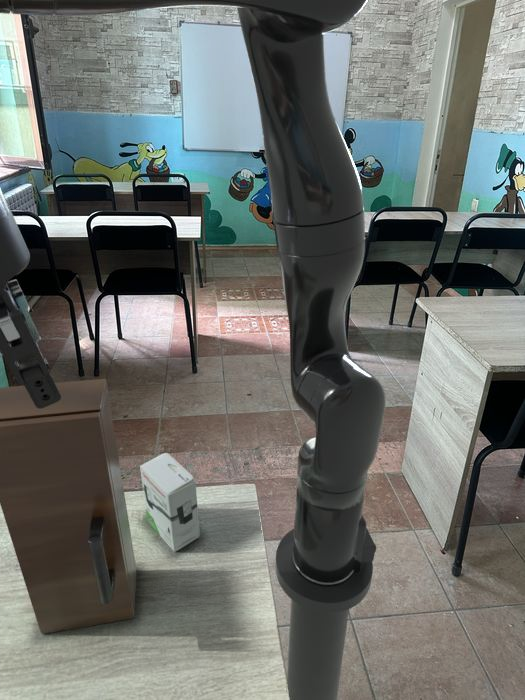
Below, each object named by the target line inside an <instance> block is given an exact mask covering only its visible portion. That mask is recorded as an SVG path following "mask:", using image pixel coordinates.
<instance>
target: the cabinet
mask: <svg viewBox="0 0 525 700" xmlns="http://www.w3.org/2000/svg"><path fill="white" fill-rule="evenodd" d="M54 383H55V385H56V387H57V389H58V391H59V393H60V395H61V399H60V400H59V401H58V402H56V403H54V404H51V405H49V406H47V407H45V408H42V409H39V408H37V407H36V406H35V404H34V402H33V401H32V399H31V397H30V395H29V393H28V391H27V390H26V388H25V386H24V385H21V386H20V385H17V386H16V385H15V386H4V387H2V386H1V387H0V422H2V421H12V420H22V419H33V418H43V417H53V416H64V415H74V414H84V413H94V412H100V415H101V421H102V427H103V433H104V439H105V444H106V450H107V456H108V462H109V468H110V473H111V479H112V485H113V491H114V497H115V503H116V508H117V514H118V520H119V526H120V532H121V537H122V543H123V549H124V555H125V561H126V566H127V572H128V578H129V584H130V590H131V595H132V601H133V607H134V611H135V609H136V608H135V607H136V589H137V587H136V586H137V564H136V557H135V551H134V546H133V545H134V544H133V538H132V532H131V527H130V521H129V515H128V507H127V501H126V496H125V488H124V482H123V477H122V469H121V464H120V463H121V462H120V457H119V451H118V445H117V438H116V433H115V427H114V426H115V425H114V420H113V415H112V408H111V401H110V395H109V389H108V388H109V387H108V382H107V378H96V379H86V380H84V379H83V380H74V381H62V382H54Z"/></svg>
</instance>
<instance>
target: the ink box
mask: <svg viewBox="0 0 525 700" xmlns="http://www.w3.org/2000/svg"><path fill="white" fill-rule="evenodd" d="M139 468H140V476H141V484H142V490H143V491H142V492H143V500H144V507H145V514H146V515H145V516H146V521H147V523H148V524H149V526H151V527H152V529H153V530H154V531H155V532H156V533H157V534H158V535H159V536H160V537H161V539H162V540H163V541H164V542H165V543H166V544H167V545H168V547H169V548H170V549H171V550H172V551H173V552H174V553H176V552H178V551H179V550H181V549H182V548H184V547H187V545H189V544H190V543H192V542H194V541H195V540H197V539H198V538H200V524H199V523H200V522H199V510H198V495H197V482H196V479H195V478H194V475H192V474H191V473H190V472H189V471H188V470H187V469H186V468H184V467H183V466H182V465H181V464H180V463H179V462H178V461H177V460H176V458H174V457H173V456H171V455H170V454H169V453H168V452H164V453H161V454H160V455H158V456H156V457H154V458H152V459H150V460H149V461H146V462H144V463H141V464H140V465H139Z"/></svg>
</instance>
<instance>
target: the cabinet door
mask: <svg viewBox="0 0 525 700" xmlns="http://www.w3.org/2000/svg"><path fill="white" fill-rule="evenodd" d="M0 507H1V508H0V509H1V511H2V515H3V517H4V520H5V521H4V522H5V524H6V527H7V530H8V533H9V536H10V540H11V544H12V546H13V549H14V552H15V556H16V559H17V562H18V565H19V568H20V572H21V576H22V577H23V581H24V583H25V587H26V590H27V594H28V597H29V600H30V603H31V606H32V610H33V612H34V615H35V619H36V623H37V625H38V629H39V632H40V634H41V635H44V634H49V633H54V632H61V631H66V630H72V629H73V630H74V629H79V628H83V627H89V626H95V625H101V624H107V623H114V622H120V621H125V620H130V619H134V618H135V610H134V607H133V601H132V595H131V590H130V584H129V578H128V572H127V566H126V561H125V555H124V549H123V543H122V537H121V532H120V526H119V520H118V514H117V508H116V503H115V497H114V491H113V485H112V479H111V473H110V468H109V462H108V456H107V450H106V444H105V439H104V433H103V427H102V421H101V415H100V412H94V413H84V414H74V415H64V416H53V417H43V418H33V419H22V420H12V421H2V422H0Z"/></svg>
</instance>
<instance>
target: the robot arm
mask: <svg viewBox="0 0 525 700" xmlns="http://www.w3.org/2000/svg"><path fill="white" fill-rule="evenodd" d="M367 2H368V0H0V14H2V15H3V14H4V15H10V14H12V15H28V16H29V15H30V16H32V15H33V16H95V15H96V16H97V15H109V14H119V13H120V14H121V13H130V12H137V11H138V12H139V11H146V10H155V9H166V8H177V7H189V6H190V7H191V6H192V7H193V6H195V7H196V6H197V7H198V6H202V7H203V6H213V7H214V6H217V7H233V8H234V7H235V8H236V11H237V15H238V19H239V24H240V28H241V33H242V37H243V40H244V41H243V42H244V46H245V50H246V54H247V59H248V63H249V67H250V72H251V75H252V80H253V85H254V89H255V95H256V98H257V99H256V100H257V104H258V110H259V116H260V123H261V131H262V141H263V150H264V156H265V164H266V171H267V176H268V184H269V192H270V200H271V201H270V202H271V213H272V219H273V221H272V222H273V227H274V229H273V230H274V235H275V244H276V250H277V256H278V262H279V267H280V271H281V272H280V274H281V280H282V288H283V296H284V301H285V302H284V303H285V307H286V314H287V319H288V329H289V358H290V359H289V362H290V363H289V364H290V365H289V366H290V367H289V368H290V369H289V370H290V389H291V394H292V397H293V399H294V402H295V404H296V406H297V407H298V409H299V410H300V411H301V412H302V413H303V415H304V416H305V417H306V418H307V419H308V420H309V421H310V422H311V423H312V425H313V426H314V427H315V436H312V437H310V438H308V439H307V440H305V441H304V442H303V443H302V444H301V446H300V448H299V451H298V453H297V454H298V455H297V471H296V491H295V493H296V494H295V510H294V511H295V512H294V520H293V522H294V523H293V529H294V528H295V529H294V544H293V545H294V546H293V556H292V559H293V564H294V567H295V569H296V570H297V572H298V573H299V574H300V575H301V576H302V577H303V578H304V579H305V580H307V581H309V582H311V583H313V584H315V585H319V586H326V587H330V586H337V585H340V584H342V583H344V582H346V581H347V580H348V579H349V578H350V577H351V576H352V575H353V573H355V572H360V567H361V563H364V562H370V561H372V562H374V560H375V553H376V552H377V544H376V543H375V542H374V540H373V537H372V535H371V534H370V532H369V530H368V528H367V521H366V519H365V517H364V516H363V508H364V501H365V492H366V486H367V478H368V473H369V472H368V471H369V470H370V467H371V466H372V464H373V462H374V461H375V459H376V456H377V454H378V449H379V444H380V439H381V434H382V429H383V426H384V420H385V414H386V406H387V405H386V401H387V400H386V399H387V398H386V392H385V389H384V387H383V385H382V383H381V382H380V381H379V380H378V378H376V377H375V376H374V375H372V374H371V373H370V372H369V371H367V370H366V369H365V368H363V367H362V366H361V365H360V364H358V363H357V362H356V361H354V360H353V358H352V356H351V354H350V351H349V347H348V340H347V332H346V322H345V321H346V317H345V316H346V308H347V303H348V301H349V298H350V295H351V293H352V291H353V289H354V287H355V285H356V283H357V280H358V278H359V275H360V273H361V270H362V268H363V264H364V260H365V255H366V227H365V226H366V225H365V224H366V223H365V222H366V221H365V201H364V193H363V192H364V191H363V186H362V183H361V179H360V176H359V173H358V170H357V167H356V165H355V162H354V160H353V157H352V155H351V153H350V150H349V148H348V146H347V145H348V144H347V143H346V140H345V138H344V136H343V134H342V132H341V130H340V127H339V125H338V123H337V120H336V117H335V115H334V111H333V109H332V105H331V101H330V96H329V92H328V85H327V77H326V60H325V41H324V39H325V38H324V35H325V34H327V33H330V32H332V31H335V30H337V29H339V28H341V27H342V26H344V25H345V24H347V23H349V22H350V21H351V20H352V19H354V18H355V16H357V15H358V14H359V13H360V12H361V11H362V10H363V7H365V5H366V4H367ZM30 260H31V253H30V251H29V248H28V246H27V244H26V242H25V239H24V237H23V235H22V233H21V230H20V228H19V226H18V224H17V222H16V218H15V217H14V214H13V212H12V210H11V207H10V205H9V203H8V201H7V199H6V196H5V194H4V191H3V189H2V188H1V186H0V355H1V356H2V357H3V359H4V361H5V362H6V364H7V366H8V368H9V369H10V371H11V373H12V375H13V377H12V378H13V380H14V382H15V383H17V384H18V386H25V388H26V390H27V391H28V393H29V395H30V397H31V399H32V401H33V402H34V404H35V406H36V407H37V408H39V409H42V408H45V407H47V406H49V405H51V404H54V403H56V402H58V401H59V400H60V399H61V395H60V393H59V391H58V389H57V387H56V385H55V383H56V382H55V381H54V379H53V377H52V374H51V371H50V369H51V367H50V365H49V362H48V360H47V358H44V355H43V353H42V351H41V348H40V346H39V344H40V342H41V341H42V337H41V335H40V333H39V330H38V329H37V327H36V324H35V322H34V320H33V318H32V316H31V314H30V309H31V307H30V305H29V302H28V300H27V298H26V296H25V294H24V292H23V290H22V288H21V286H20V284H19V281H18V280H17V279H12V278H14V277H15V276H18V275H20V274H21V273H22V272H23V271H24V270H25V269H26V268H27V266H28V265H29V263H30ZM18 361H19V362H21V363H20V364H19V362H18Z"/></svg>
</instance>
